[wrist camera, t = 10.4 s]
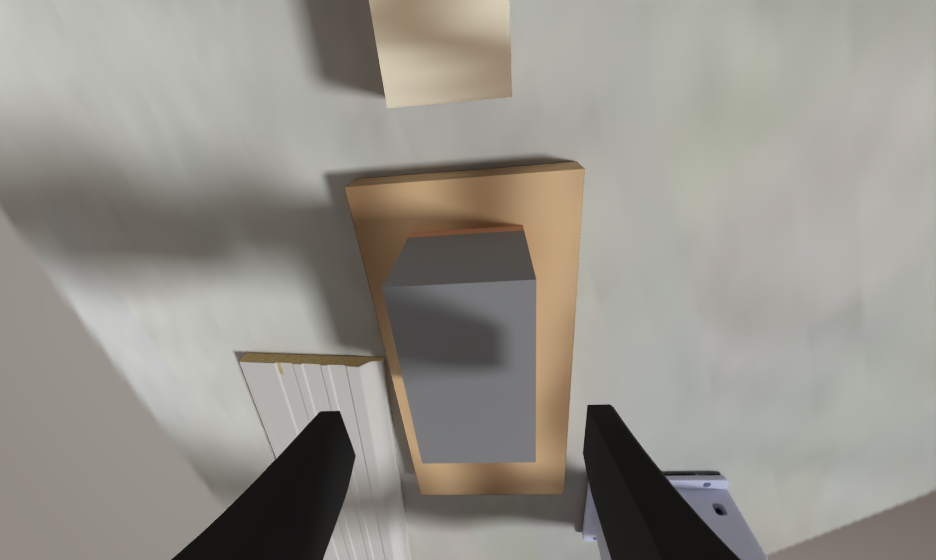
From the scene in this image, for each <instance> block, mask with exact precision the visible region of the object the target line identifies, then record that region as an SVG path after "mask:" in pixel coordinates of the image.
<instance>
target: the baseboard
mask: <svg viewBox="0 0 936 560" xmlns="http://www.w3.org/2000/svg"><path fill="white" fill-rule="evenodd" d="M239 363H240V366H241V368H242V371H243V373H244V376H245V379H246V381H247V384H248V386H249V389H250V392H251V394H252V397H253V399H254V402H255V405H256V407H257V410H258V412H259V415H260V418H261V420H262V423H263V425H264V428H265V431H266V433H267V436H268V438H269V441H270V444H271V446H272V449H273V451H274V454H275V457H276V459H277V457H278V456H279V455H280V454H281V453H282V452H283V451H284V450H285V449H286V448H287V447H288V446H289V444H290V443H291V442H292V441H293V440H294V439H295V438H296V437H297V436H298V435H299V434H300V432H301V431H302V430H303V429H304V428H305V427H306V426H307V425H308V424H309V423H310V422H311V421H312V419H313V418H314V417H315V416H316V415H317V414H318V413H319V412H320V411H340V413H341V416H342V418H343V421H344V424H345V427H346V430H347V432H348V435H349V438H350V441H351V444H352V446H353V449H354V452H355V455H356V457H355V462H354V466H353V471H352V475H351V479H350V483H349V487H348V491H347V494H346V497H345V500H344V503H343V506H342V508H341V511H340V514H339V517H338V520H337V522H336V525H335V528H334V531H333V533H332V536H331V539H330V542H329V544H328V547H327V550H326V553H325V555H324V558H323V560H412V559H411V551H410V544H409V537H408V530H407V523H406V515H405V508H404V501H403V494H402V486H401V479H400V472H399V465H398V457H397V450H396V443H395V436H394V428H393V421H392V414H391V407H390V399H389V392H388V385H387V378H386V370H385V363H384V357H356V356H327V355H298V354H270V353H246V354H245V355H244V356H243V357H242V358H241V359H240V361H239Z"/></svg>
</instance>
